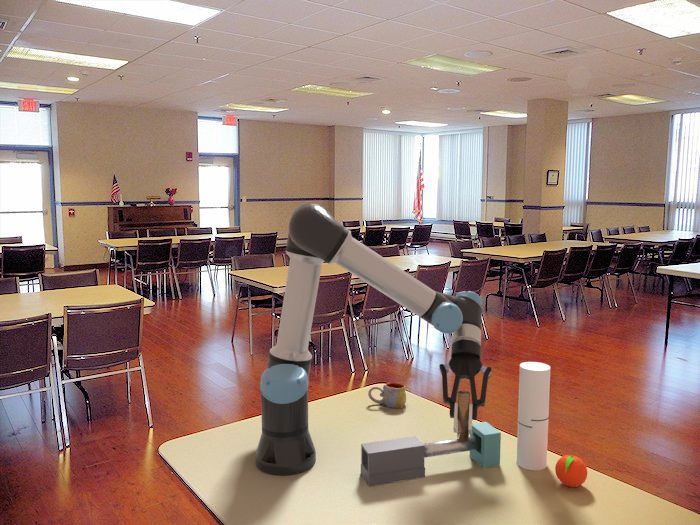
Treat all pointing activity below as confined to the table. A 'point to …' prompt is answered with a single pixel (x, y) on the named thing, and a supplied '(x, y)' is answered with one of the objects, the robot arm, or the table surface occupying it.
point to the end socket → (486, 445)
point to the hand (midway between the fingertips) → (462, 431)
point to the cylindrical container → (533, 415)
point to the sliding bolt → (463, 438)
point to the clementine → (571, 471)
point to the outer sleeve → (392, 460)
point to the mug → (391, 395)
